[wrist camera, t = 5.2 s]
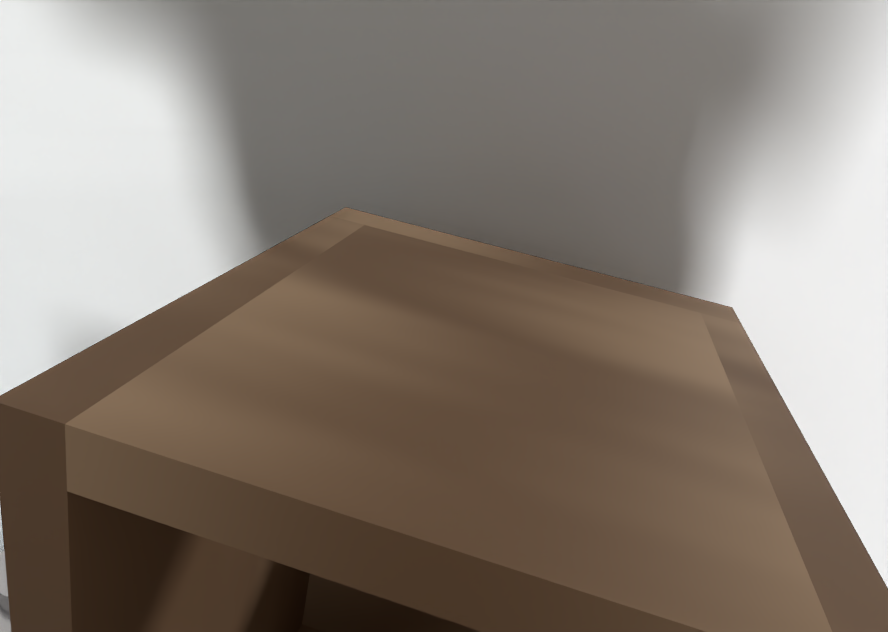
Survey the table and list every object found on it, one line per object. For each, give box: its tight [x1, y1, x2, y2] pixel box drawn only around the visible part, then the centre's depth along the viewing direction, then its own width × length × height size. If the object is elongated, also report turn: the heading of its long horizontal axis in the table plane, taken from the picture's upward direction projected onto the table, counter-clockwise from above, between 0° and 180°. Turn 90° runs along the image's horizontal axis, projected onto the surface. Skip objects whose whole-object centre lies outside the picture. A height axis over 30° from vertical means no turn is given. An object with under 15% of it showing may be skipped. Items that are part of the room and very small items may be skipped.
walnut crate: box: [0, 207, 888, 632], centre depth 8 cm, size 6×8×6 cm
